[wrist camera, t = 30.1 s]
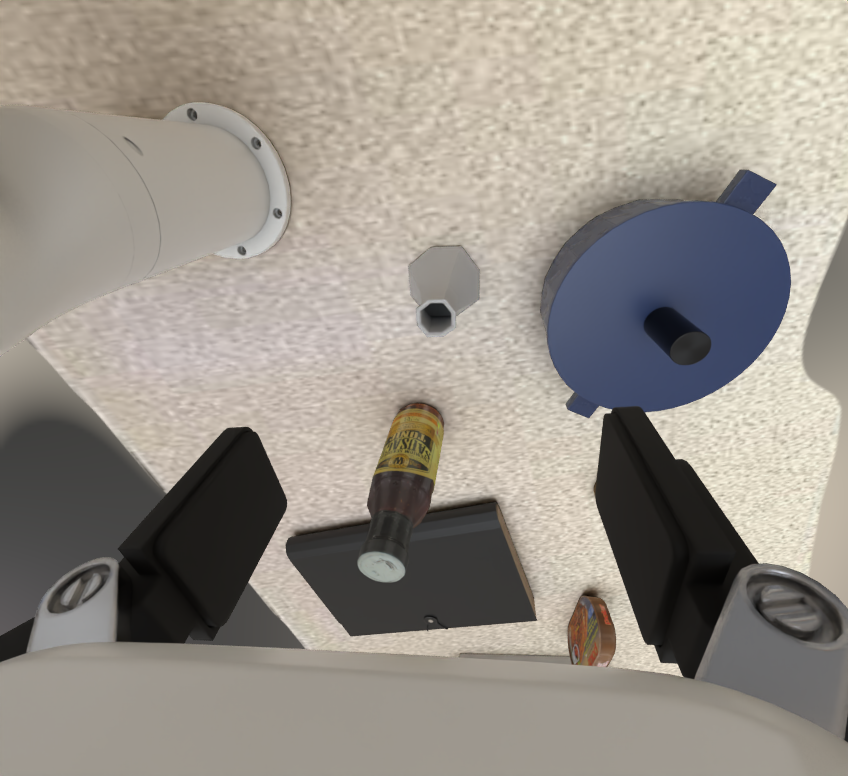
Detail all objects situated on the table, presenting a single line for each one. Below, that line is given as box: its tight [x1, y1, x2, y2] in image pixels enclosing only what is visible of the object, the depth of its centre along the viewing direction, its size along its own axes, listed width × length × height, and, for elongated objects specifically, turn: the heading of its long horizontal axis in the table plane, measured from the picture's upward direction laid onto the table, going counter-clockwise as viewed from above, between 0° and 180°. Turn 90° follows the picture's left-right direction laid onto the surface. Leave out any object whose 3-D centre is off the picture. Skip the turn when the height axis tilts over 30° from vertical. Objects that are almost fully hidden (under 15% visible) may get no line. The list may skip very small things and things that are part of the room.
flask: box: [408, 246, 479, 337], centre depth 34 cm, size 7×7×10 cm
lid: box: [546, 200, 791, 412], centre depth 29 cm, size 18×18×6 cm
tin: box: [568, 596, 616, 667], centre depth 60 cm, size 15×3×8 cm, turn 178°
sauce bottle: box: [357, 403, 444, 582], centre depth 39 cm, size 7×6×20 cm
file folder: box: [286, 502, 537, 636], centre depth 61 cm, size 33×4×24 cm
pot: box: [540, 170, 776, 418], centre depth 34 cm, size 17×22×6 cm
